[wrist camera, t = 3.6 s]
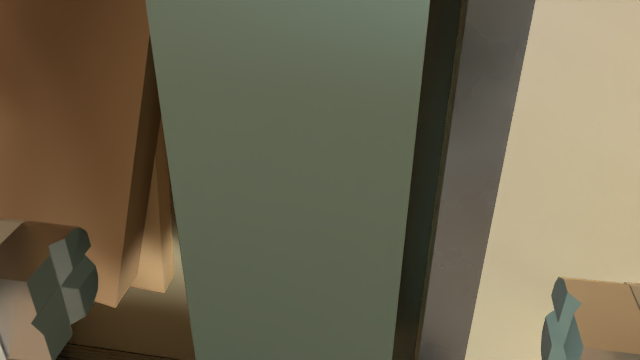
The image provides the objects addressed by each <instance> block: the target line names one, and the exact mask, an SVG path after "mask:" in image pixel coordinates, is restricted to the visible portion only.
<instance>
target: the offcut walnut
mask: <svg viewBox="0 0 640 360" xmlns="http://www.w3.org/2000/svg"><path fill="white" fill-rule="evenodd" d="M160 120H161V109H160V102H159V94H158V87H157V80H156V73H155V66H154V59H153V51H152V44H151V37H150V30H149V23H148V16H147V9H146V1H145V0H0V219H4V218H10V219H18V220H26V221H37V222H45V223H53V224H61V225H68V226H76V227H81V228H82V229H84V230H86V231H87V234H88V237H89V241H90V244H91V247H90V249H89V250H88V252H87V253H86V256H87V257H88V258H89V259H90V260H91V261H92V262H93V263H94V264H95V265H96V268H97V273H98V291H97V295H96V298H95V302H98V303H101V304H104V305H108V306H111V307H114V308H116V307H117V305H118V304H119V302H120V301H121V299H122V298H123V296H124V295H125V293H126V291H127V290H128V288H129V287H130V285H131V284H132V282H133V281H134V279H135V278H136V276H137V275H138V268H139V261H140V254H141V247H142V241H143V234H144V227H145V220H146V213H147V207H148V200H149V193H150V186H151V179H152V172H153V166H154V159H155V154H156V147H157V140H158V133H159V126H160Z"/></svg>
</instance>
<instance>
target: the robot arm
mask: <svg viewBox="0 0 640 360" xmlns="http://www.w3.org/2000/svg"><path fill="white" fill-rule="evenodd" d="M90 247H91V244H90V241H89V237H88V234H87V231H86V230H84V229H82V228H81V227H76V226H68V225H61V224H53V223H45V222H37V221H26V220H18V219H10V218H4V219H0V360H6V358H9V359H18V360H55V359H56V358H57V357H58V355H59V354H60V352H61V351H62V349H63V348H64V347H65V345H66V344H67V342H68V341H69V340H70V338H71V337H72V335H73V333H72V327H71V324H73V323H75V322H77V321H78V320H80V319H82V318H84V317H86V315H87V314H88V312H89V311H90V309H91V308H92V306H93V305H94V301H95V298H96V295H97V291H98V273H97V268H96V265H95V264H94V263H93V262H92V261H91V260H90V259H89V258H88V257H87V256H86V253H87V252H88V250H89V249H90ZM551 296H552V301H553V305H554V309H555V310H554V311H552V312H551V313H550V314H548V315H547V316H546V317H545V322H544V326H543V330H542V340H541V356H542V360H640V284H639V283H626V282H625V283H616V282H606V281H596V280H586V279H576V278H566V277H558V279H557V281H556V282H555V285H554V288H553V292H552V295H551Z"/></svg>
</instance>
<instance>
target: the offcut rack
mask: <svg viewBox="0 0 640 360" xmlns="http://www.w3.org/2000/svg"><path fill="white" fill-rule="evenodd" d="M534 4H535V0H462V4H461V11H460V19H459V26H458V34H457V41H456V49H455V56H454V64H453V71H452V78H451V86H450V93H449V101H448V108H447V116H446V123H445V131H444V138H443V146H442V153H441V161H440V168H439V175H438V183H437V190H436V198H435V205H434V213H433V220H432V228H431V235H430V243H429V250H428V258H427V265H426V272H425V280H424V287H423V295H422V302H421V310H420V317H419V325H418V332H417V340H416V347H415V355H414V360H464V359H465V354H466V349H467V344H468V339H469V334H470V329H471V324H472V319H473V313H474V308H475V303H476V298H477V293H478V288H479V283H480V278H481V273H482V268H483V263H484V258H485V253H486V248H487V243H488V237H489V232H490V227H491V222H492V217H493V212H494V207H495V202H496V197H497V192H498V187H499V182H500V177H501V172H502V167H503V161H504V156H505V151H506V146H507V141H508V136H509V131H510V126H511V121H512V116H513V111H514V106H515V101H516V96H517V91H518V85H519V80H520V75H521V70H522V65H523V60H524V55H525V50H526V45H527V40H528V35H529V30H530V25H531V20H532V14H533V9H534ZM6 360H18V359H9V358H6ZM55 360H175V359H168V358H161V357H154V356H147V355H141V354H134V353H127V352H120V351H113V350H107V349H100V348H93V347H86V346H80V345H73V344H66V345H65V347H64V348H63V349H62V351H61V352H60V354H59V355H58V357H57V358H56V359H55Z"/></svg>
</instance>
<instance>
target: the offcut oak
mask: <svg viewBox="0 0 640 360" xmlns="http://www.w3.org/2000/svg"><path fill="white" fill-rule="evenodd" d="M173 278H174V259H173V241H172V223H171V205H170V187H169V168H168V159H167V152H166V145H165V137H164V130H163V123H162V116H161V120H160V126H159V133H158V140H157V147H156V154H155V159H154V166H153V172H152V179H151V186H150V193H149V200H148V207H147V213H146V220H145V227H144V234H143V241H142V247H141V254H140V261H139V268H138V275H137V276H136V278H135V279H134V281H133V282H132V284H131V285H130V287H135V288H140V289H145V290H151V291H156V292H161V293H165V292H166V290H167V288H168V286H169V285H170V283H171V281H172V280H173Z"/></svg>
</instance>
